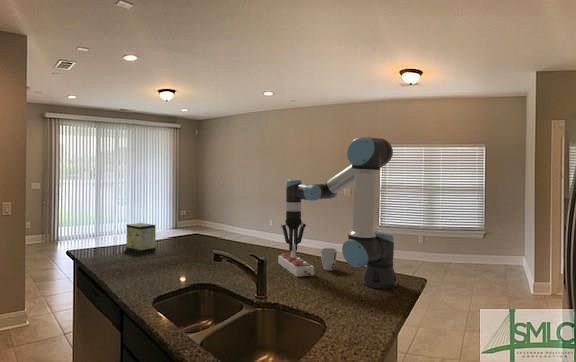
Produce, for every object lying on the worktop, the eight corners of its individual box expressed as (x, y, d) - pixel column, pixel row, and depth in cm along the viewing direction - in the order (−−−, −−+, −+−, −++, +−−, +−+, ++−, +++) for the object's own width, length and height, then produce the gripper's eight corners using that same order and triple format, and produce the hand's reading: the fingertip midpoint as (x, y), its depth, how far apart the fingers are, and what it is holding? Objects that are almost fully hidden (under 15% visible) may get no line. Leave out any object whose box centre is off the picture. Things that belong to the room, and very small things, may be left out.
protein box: (141, 246, 254) (141, 222, 254) (156, 249, 245) (156, 224, 245) (126, 249, 246) (126, 224, 245) (141, 252, 237) (141, 226, 236)
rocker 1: (290, 255, 209) (290, 253, 209) (284, 256, 208) (284, 253, 208) (287, 255, 214) (287, 253, 214) (281, 256, 213) (280, 253, 213)
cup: (335, 271, 198) (336, 251, 198) (319, 270, 200) (319, 251, 200) (337, 267, 206) (337, 248, 206) (321, 266, 208) (321, 247, 208)
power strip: (319, 278, 186) (319, 269, 186) (301, 280, 183) (301, 270, 183) (293, 261, 218) (294, 253, 218) (278, 262, 215) (278, 255, 215)
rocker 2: (296, 259, 201) (296, 256, 201) (290, 260, 200) (289, 257, 200) (293, 259, 206) (293, 256, 206) (286, 260, 204) (286, 257, 205)
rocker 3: (303, 263, 192) (303, 260, 192) (296, 264, 191) (296, 261, 191) (299, 263, 197) (299, 260, 197) (292, 264, 196) (292, 261, 196)
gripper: (302, 209, 205) (302, 254, 206) (278, 210, 201) (278, 256, 202) (308, 210, 198) (307, 257, 199) (283, 211, 194) (283, 259, 195)
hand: (293, 257), depth 200 cm, fingers closed
